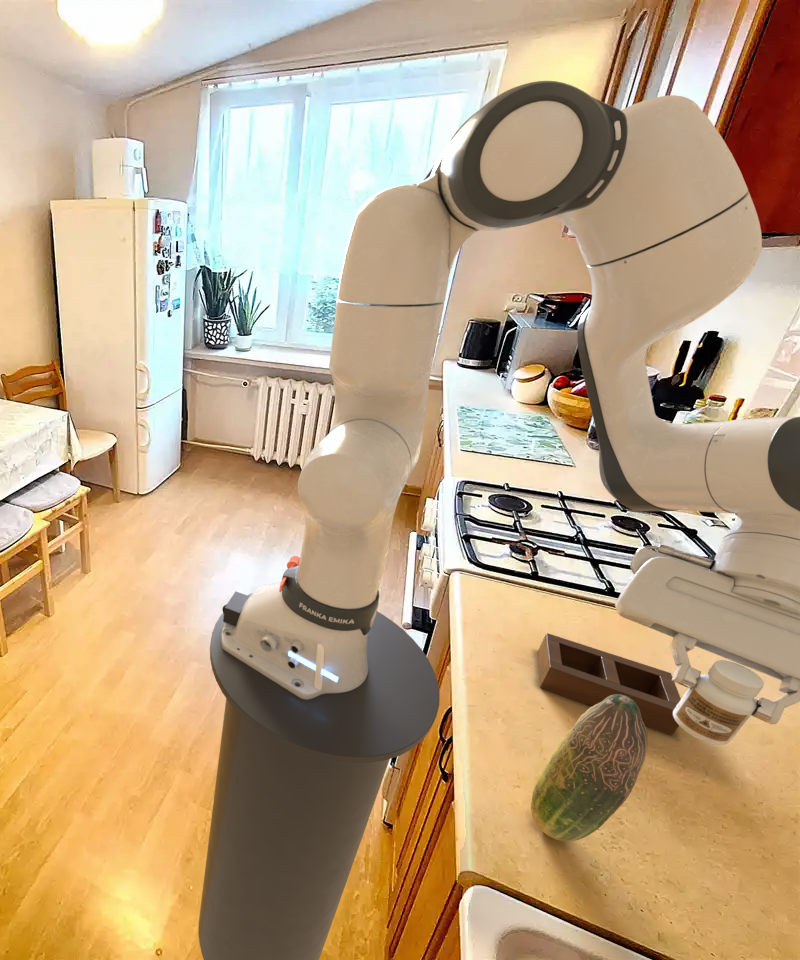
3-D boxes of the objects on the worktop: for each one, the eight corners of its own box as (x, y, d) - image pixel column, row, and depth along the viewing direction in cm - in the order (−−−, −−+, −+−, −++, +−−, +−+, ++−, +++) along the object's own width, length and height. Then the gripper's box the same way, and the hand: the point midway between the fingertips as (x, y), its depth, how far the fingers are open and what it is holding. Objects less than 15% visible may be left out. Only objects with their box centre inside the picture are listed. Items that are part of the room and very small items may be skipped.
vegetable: (521, 787, 60) (590, 662, 51) (586, 819, 57) (672, 691, 48) (519, 833, 56) (595, 704, 47) (591, 869, 53) (687, 739, 44)
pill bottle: (667, 725, 53) (705, 670, 50) (674, 702, 56) (711, 649, 53) (726, 755, 51) (771, 700, 47) (730, 729, 53) (773, 675, 50)
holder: (672, 735, 67) (687, 714, 65) (539, 687, 74) (550, 667, 72) (657, 693, 73) (671, 672, 72) (536, 652, 80) (546, 632, 78)
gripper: (649, 528, 57) (597, 639, 55) (959, 624, 44) (905, 772, 42) (635, 546, 62) (587, 649, 60) (912, 637, 49) (861, 771, 47)
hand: (721, 701), depth 51 cm, fingers closed on pill bottle, 4 cm apart
